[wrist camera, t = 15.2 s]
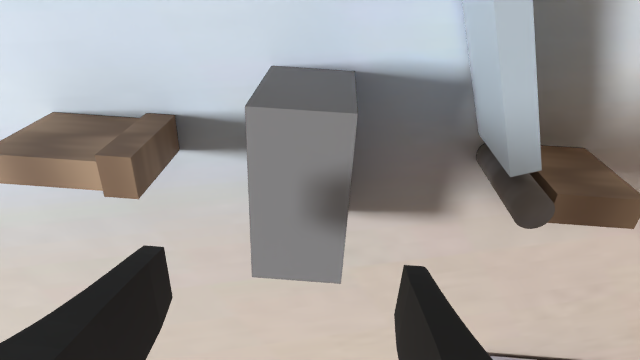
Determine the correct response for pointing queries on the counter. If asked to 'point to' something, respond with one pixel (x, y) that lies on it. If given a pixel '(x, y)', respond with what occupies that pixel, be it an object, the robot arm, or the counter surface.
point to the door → (505, 80)
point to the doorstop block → (300, 172)
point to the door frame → (162, 145)
